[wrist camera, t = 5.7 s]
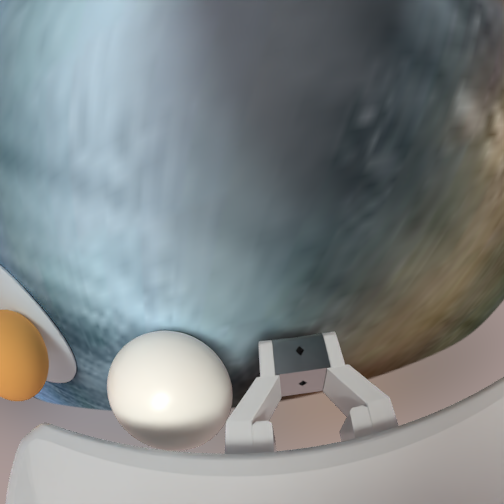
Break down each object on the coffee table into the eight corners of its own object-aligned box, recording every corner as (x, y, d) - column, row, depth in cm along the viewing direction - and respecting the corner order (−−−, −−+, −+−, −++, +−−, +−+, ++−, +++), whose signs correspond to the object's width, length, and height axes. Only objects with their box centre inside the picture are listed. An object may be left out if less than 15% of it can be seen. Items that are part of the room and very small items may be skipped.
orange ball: (32, 297, 10) (-4, 285, 11) (-27, 372, 6) (-51, 339, 7) (78, 365, 13) (34, 344, 14) (38, 432, 9) (-2, 396, 10)
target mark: (-69, 253, 9) (-70, 255, 9) (-3, 221, 8) (-6, 223, 8) (10, 369, 17) (9, 370, 17) (110, 390, 16) (109, 392, 16)
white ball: (228, 416, 7) (177, 285, 10) (94, 457, 6) (76, 338, 10) (265, 428, 11) (222, 340, 14) (168, 464, 10) (141, 377, 14)
